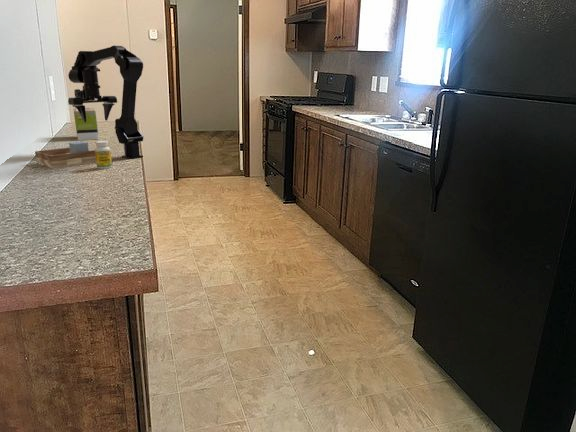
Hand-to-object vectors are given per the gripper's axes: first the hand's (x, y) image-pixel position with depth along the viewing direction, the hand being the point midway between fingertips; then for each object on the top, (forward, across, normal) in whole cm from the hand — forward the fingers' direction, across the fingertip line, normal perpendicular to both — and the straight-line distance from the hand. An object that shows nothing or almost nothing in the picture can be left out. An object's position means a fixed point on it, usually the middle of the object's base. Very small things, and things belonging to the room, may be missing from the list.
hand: (95, 121), depth 199 cm
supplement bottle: (+14, +13, +31) cm, 37 cm away
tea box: (+12, -15, -44) cm, 48 cm away
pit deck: (+13, +18, +13) cm, 26 cm away
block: (+11, +15, +15) cm, 24 cm away
